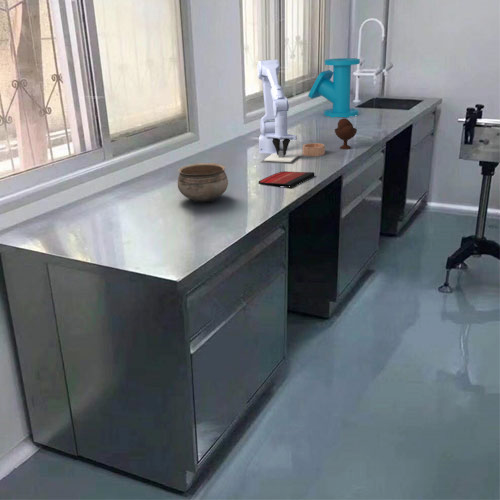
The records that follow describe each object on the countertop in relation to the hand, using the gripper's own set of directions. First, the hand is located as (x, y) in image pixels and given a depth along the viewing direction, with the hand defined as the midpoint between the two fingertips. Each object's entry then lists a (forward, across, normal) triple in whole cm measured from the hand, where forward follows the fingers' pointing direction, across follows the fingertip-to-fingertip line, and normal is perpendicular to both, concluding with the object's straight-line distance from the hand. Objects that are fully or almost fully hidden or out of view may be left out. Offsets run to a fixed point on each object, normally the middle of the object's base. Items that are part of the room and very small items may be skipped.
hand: (281, 154), depth 275 cm
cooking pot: (+3, -10, -67) cm, 68 cm away
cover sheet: (+2, 0, 0) cm, 2 cm away
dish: (+3, +12, +14) cm, 19 cm away
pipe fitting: (+3, -4, +131) cm, 131 cm away
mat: (+3, 0, 0) cm, 3 cm away
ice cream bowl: (+3, +24, +31) cm, 39 cm away
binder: (+3, +12, -33) cm, 35 cm away
